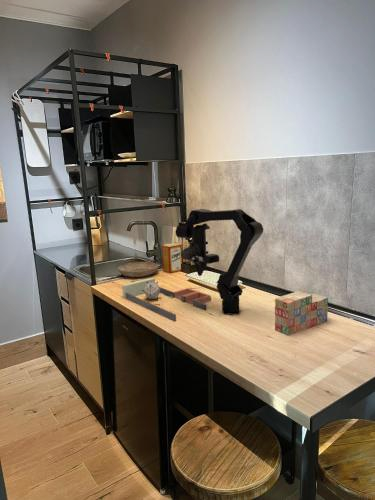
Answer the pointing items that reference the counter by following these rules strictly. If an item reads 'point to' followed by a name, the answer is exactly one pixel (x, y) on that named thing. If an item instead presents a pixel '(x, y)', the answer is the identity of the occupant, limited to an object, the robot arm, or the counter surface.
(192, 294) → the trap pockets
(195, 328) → the counter surface
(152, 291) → the game die
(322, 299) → the stack of blocks
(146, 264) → the ceramic bowl
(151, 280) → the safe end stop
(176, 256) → the baking soda box
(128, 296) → the lane rails
